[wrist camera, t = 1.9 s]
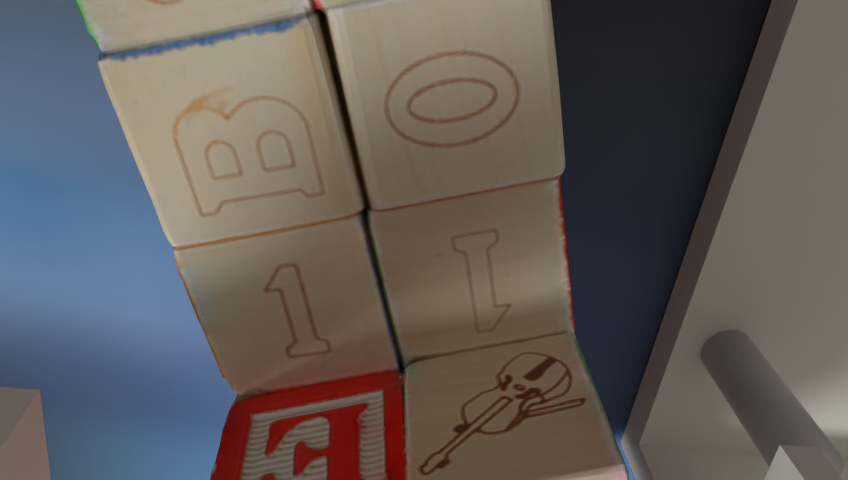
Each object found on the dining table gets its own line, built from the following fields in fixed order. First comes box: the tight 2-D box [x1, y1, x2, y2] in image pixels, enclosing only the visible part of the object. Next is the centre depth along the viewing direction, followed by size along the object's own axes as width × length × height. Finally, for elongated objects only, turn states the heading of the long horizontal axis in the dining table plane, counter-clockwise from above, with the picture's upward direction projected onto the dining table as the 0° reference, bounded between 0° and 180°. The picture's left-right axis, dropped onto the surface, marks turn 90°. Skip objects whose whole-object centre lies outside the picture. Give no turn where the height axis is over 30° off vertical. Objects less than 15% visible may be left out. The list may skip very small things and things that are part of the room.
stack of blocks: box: [75, 0, 629, 480], centre depth 16 cm, size 21×6×12 cm, turn 10°
